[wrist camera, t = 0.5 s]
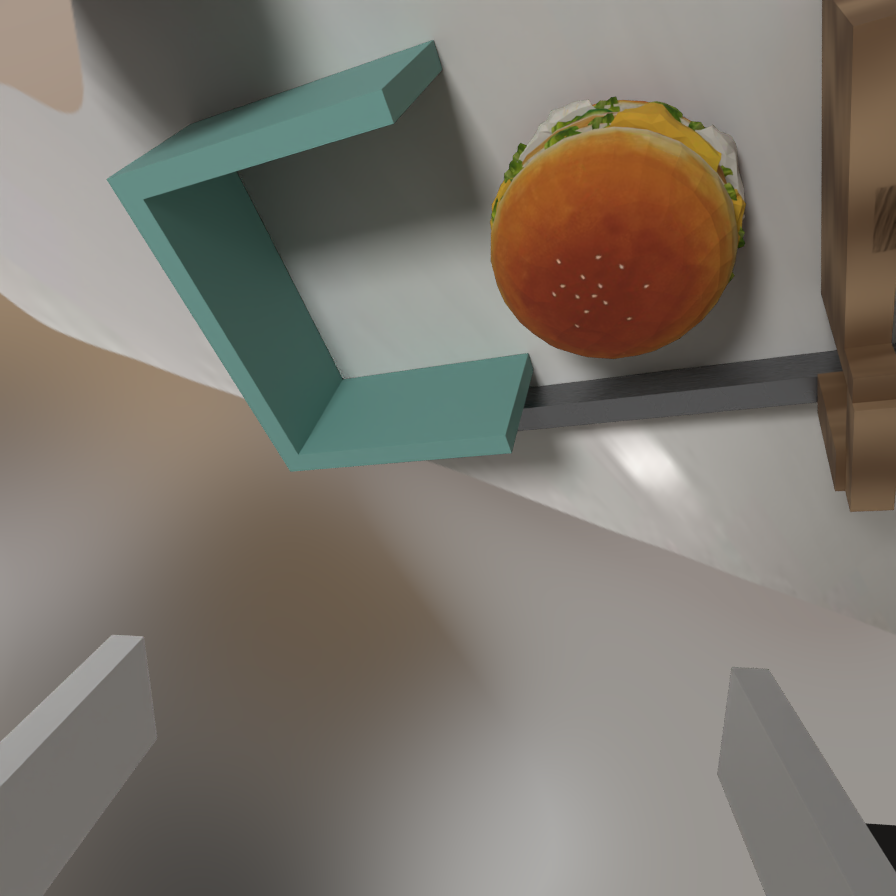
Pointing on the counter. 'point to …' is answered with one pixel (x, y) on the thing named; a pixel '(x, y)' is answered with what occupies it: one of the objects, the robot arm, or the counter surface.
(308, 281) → the counter surface
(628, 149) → the burger
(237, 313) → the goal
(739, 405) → the rail
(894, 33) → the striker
